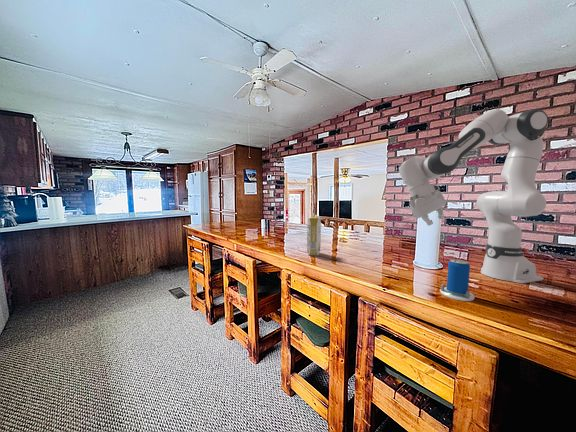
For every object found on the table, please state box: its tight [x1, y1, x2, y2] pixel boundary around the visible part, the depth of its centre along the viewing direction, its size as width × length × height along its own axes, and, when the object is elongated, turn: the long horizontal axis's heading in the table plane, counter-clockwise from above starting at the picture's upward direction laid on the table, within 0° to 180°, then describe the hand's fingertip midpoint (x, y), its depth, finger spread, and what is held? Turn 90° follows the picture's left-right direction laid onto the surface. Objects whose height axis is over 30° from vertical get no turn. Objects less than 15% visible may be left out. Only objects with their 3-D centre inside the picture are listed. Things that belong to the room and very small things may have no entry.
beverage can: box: [446, 258, 471, 295], centre depth 87 cm, size 6×6×12 cm
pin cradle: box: [439, 283, 476, 302], centre depth 88 cm, size 10×10×3 cm
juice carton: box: [306, 214, 322, 257], centre depth 144 cm, size 9×8×24 cm
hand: (436, 221), depth 101 cm, fingers open, 8 cm apart
